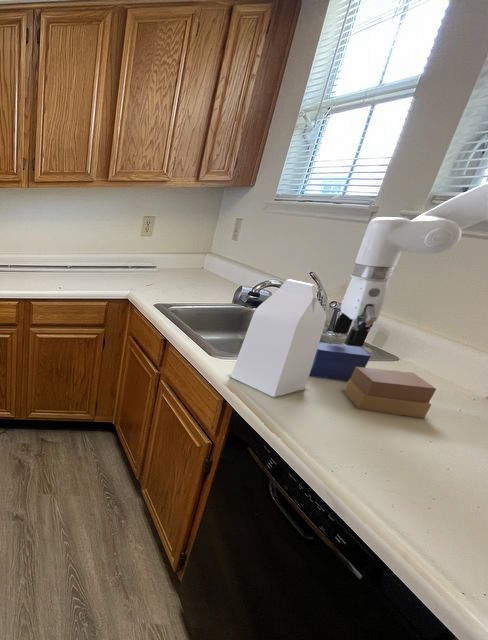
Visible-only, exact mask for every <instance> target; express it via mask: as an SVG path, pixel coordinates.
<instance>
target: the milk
mask: <svg viewBox="0 0 488 640" xmlns="http://www.w3.org/2000/svg"><path fill="white" fill-rule="evenodd" d="M317 295H318V294H317V285H316V284H313V283H309V282H304V281H299V280H295V279H285V281H284V282H283V283H282V284H281V286H280V287H279V288H278V289H277V290H276V291H275V292H273V294H271V295H270V296H269V297H268V298H266V299H265V300H264V301H263V302H262V303H260V304H259V305H258V306H257V308H256V309H255V310H254V312H253V315H252V317H251V319H250V322H249V324H248V325H249V326H248V328H247V331H246V333H245V337H244V339H243V342H242V344H241V347H240V350H239V352H238V355H237V357H236V360H235V363H234V366H233V369H232V371H231V374H230V378H233V379H234V380H237V381H239V382H241V383H243V384H245V385H247V386H249V387H251V388H253V389H256V390H258V391H259V392H262V393H264V394H266V395H269V396H271V397H273V398H276V397H279V396H283V395H284V396H285V395H287V394H290V393H291V394H292V393H294V392H295V393H296V392H299V391H302V390H305V389H306V387H307V384H308V382H309V377H310V376H309V374H310V371H311V368H312V365H313V361H314V358H315V355H316V352H317V348H318V345H319V342H320V343H321V338H322V334H323V331H324V328H325V325H326V322H327V314H326V311H325V309H324V307H323V306H322V304H321V302H320V301H319V300H318V296H317Z"/></svg>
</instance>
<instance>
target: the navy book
mask: <svg viewBox="0 0 488 640" xmlns="http://www.w3.org/2000/svg"><path fill="white" fill-rule="evenodd" d="M315 358H316V359H323V360H331V361H339V362H347V363H355V364H363V365H366V366H367V365H368V363H369V361H370V358H371V355H370V354H369V353H368V352H367V351H365V350H364V349H363V348H362V346H352V345H347V344H346V345H345V344H337V343H329V342H321V341H320V342H319V345H318V348H317V352H316V355H315Z"/></svg>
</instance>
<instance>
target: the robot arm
mask: <svg viewBox="0 0 488 640" xmlns="http://www.w3.org/2000/svg"><path fill="white" fill-rule="evenodd" d="M486 220H488V181H487V182H485V183H483V184H481V185H478V186H476V187H473V188H472V189H470V190H467V191H465V192H462V193H460V194H458V195H456V196H454V197H452V198H450V199H448V200H446V201H445V202H442V203H441V204H439V205H437V206H435V207H433V208H430V209H429V210H428V211H425V212H424V213H422V214H420V215H418V216H416V217H415V218H413V219H412V220H411V219H409V218H407V217H397V216H396V217H393V216H381V217H380V216H379V217H375V218H373V219H372V220H370V221H369V223H368V225H367V227H366V229H365V233H364V236H363V237H362V238H363V239H362V241H361V244H360V247H359V250H358V252H357V255H356V258H355V261H354V264H353V267H352V270H351V273H350V274H349V277H350V278H351V279H350V282H349V283H348V286H347V288H346V291H345V293H344V295H343V298H342V300H341V304H340V308H339V313H338V314H337V318H336V321H335V323H334V326H333V329H332V332H333V333H335V334H342V335H343V334H345V335H347V334H348V333H349V331H350V333H349V335H348V338H347V341H346V346H355V347H363V346H364V343H365V341H366V339H367V336H368V334H369V332H370V331H371V328H372V327H373V326H374V323H375V322H377V321H378V319H379V317H380V314H381V311H382V309H383V305H384V302H385V299H386V295H387V292H388V287H389V282H390V281H391V280H392V278H393V274H394V272H395V269H396V268H397V264H398V262H399V259H400V257H401V255H402V252H409V253H413V254H420V255H427V256H428V255H430V256H431V255H439V254H442V253H445V252H447V251H449V250H452V249H453V248H454V247H456V245H457V244H458V243H459V242H460V241H461V238H462V230H464V229H466V228H468V227H471V226H473V225H475V224H478V223H480V222H483V221H486ZM352 323H353V328H351V325H352ZM350 329H351V330H350Z"/></svg>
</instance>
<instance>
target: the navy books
mask: <svg viewBox="0 0 488 640" xmlns="http://www.w3.org/2000/svg"><path fill="white" fill-rule="evenodd" d="M366 366H367V365H363V364H355V363H347V362H339V361H331V360H323V359H316V358H314V361H313V365H312V368H311V371H310V374H309V377H316V378H324V379H329V380H336V381H337V380H338V381H343V382H345V381H346V382H348V381H349V379H350V378H351V376H352V374H353V372H354V369H355V367H364V368H367V367H366Z"/></svg>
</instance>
